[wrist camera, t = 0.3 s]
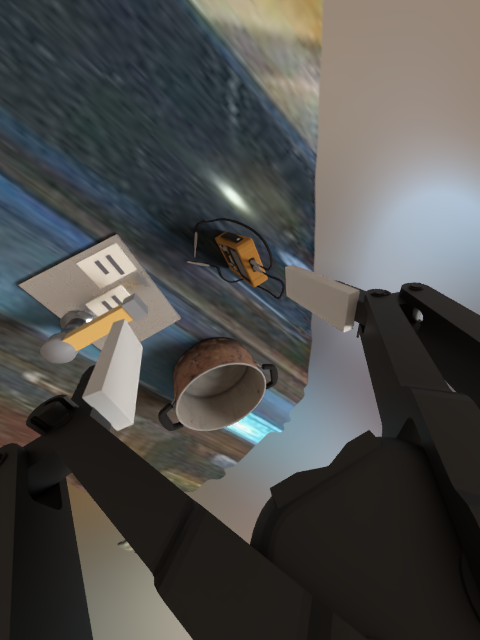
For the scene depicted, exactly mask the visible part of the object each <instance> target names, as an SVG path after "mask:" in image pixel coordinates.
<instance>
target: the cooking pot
mask: <svg viewBox="0 0 480 640" xmlns="http://www.w3.org/2000/svg"><path fill="white" fill-rule="evenodd" d="M259 367H262V369H263V370H265V369H270V375H271V381H270V382H269V383H267V384H266V380H265V376H264V375H263V373H262V371H261V370H260V368H259ZM277 380H278V373H277V369H276V367H275V365H273V364H263V365H262V366H260V365H258V364H257V362H255V361H254V359H253V357H252V356H251V354H250V353H249V351H248V350H247V348H246V347H245V346H244V345H243V344H242V343H240V342H238V341H236V340H233V339H230V338H214V339H208V340H205V341H203V342H200V343H198V344H196V345H194V346H193V347H191V348H190V349H189V350H187V351H186V352H185V353H184V354H183V355H182V356H181V357H180V359H179V360H178V362H177V363H176V366H175V368H174V372H173V385H174V400H173V402H172V403H168V404H167V405H166V406H165V407H164V408H163V409H162V410H161V411H160V412H159V414H158V417H159V421H160V423H161V424H162V425H163V427H164V428H166V429H167V430H169V431H173V430H176V429H179V428H182V427H183V425H184V426H186V427H187V428H190V429H193V430H198V431H210V430H217V429H221V428H224V427H227V426H230V425H232V424H234V423H236V422H238V421H239V420H241V419H243V418H244V417H245V416H247V415H248V414H249V413H250V412H251V411H253V410H254V409H255V407H256V406H257V405H258V404H259V402H260V401H261V399H262V398H263V395H264V393H265V389H269V388H271V387H272V386H274V385H275V384H276V383H277ZM174 403H175V407H176V415H177V418H178V420H179V421H180V422H178V423H175V424H173V423H172V422H171V420H170V419H169V417H168V416H167V414H166V413H167V412H168V411H169V410H170V409H172V408H173V406H172V405H173V404H174Z"/></svg>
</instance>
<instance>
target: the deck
mask: <svg viewBox="0 0 480 640" xmlns="http://www.w3.org/2000/svg"><path fill="white" fill-rule="evenodd" d="M115 243H116V244H117V245H118V246H119V247H120V249H121V250H122V251H123V253H124V254H125V255H126V256H127V258H128V259H129V260H130V262H131V263H132V264H133V265H134V267H135V268H136V269H137V270H135V271H133V272H131V273H130V274H128V275H126V276H124V277H122V278H120V279H118V280H117V281H115V282H113V283H111V284H109V285H107V286H105V287H104V288H102V289H100V288H99V287H98V286H97V285H96V284H95V282H94V281H93V280H92V279H91V278H90V277H89V276H88V275H87V274H86V273H85V272H84V271H83V270H82V269H81V268H80V267H79V266H78V265H77V264H76V263H78V262H80V261H82V260H84V259H86V258H88V257H90V256H92V255H94V254H95V253H97V252H99V251H101V250H103V249H105V248H107V247H109V246H111V245H113V244H115ZM119 285H121V286H122V287H123V288H124V289H125V290H126V291H127V292H128V293H129V295H132V294H134V293H136V294H137V295H138V296H139V297H140V299H141V300H142V301H143V302H144V303H145V304H146V306H147V307H148V315H147V316H145V317H144V318H142V319H140V320H138V321H135V320H132V321H130V322H128V324H129V326H130V328H131V329H132V331H133V332H134V334H135V336H136V337H137V339H138V340H139V342H141V341H143V340H145V339H146V338H148V337H150V336H152V335H153V334H155V333H157V332H158V331H160V330H162V329H164V328H165V327H167V326H169V325H171V324H172V323H174V322H176V321H178V320H179V319H181V317H180V315H179V314H178V313H177V311H176V310H175V309H174V307H173V306H172V305H171V303H170V302H169V301H168V299H167V298H166V297H165V296H164V294H163V293H162V292H161V290H160V289H159V288H158V286H157V285H156V284H155V282H154V281H153V280H152V278H151V277H150V276H149V274H148V273H147V272H146V270H145V269H144V268H143V266H142V265H141V264H140V263H139V261H138V260H137V259H136V257H135V256H134V255H133V253H132V252H131V251H130V249H129V248H128V247H127V245H126V244H125V243H124V241H123V240H122V239H121V237H120V236H119V235H118V234H116V235H114V236H112V237H110V238H108V239H106V240H105V241H103V242H101V243H99V244H97V245H95V246H93V247H91V248H89V249H87V250H85V251H83V252H81V253H79V254H77V255H75V256H74V257H72V258H70V259H68V260H66V261H64V262H62V263H60V264H58V265H56V266H54V267H52V268H50V269H48V270H46V271H44V272H43V273H41V274H39V275H37V276H35V277H33V278H31V279H29V280H27V281H25V282H23V283H21V284H19V286H20V287H21V288H23V289H24V290H25V291H26V292H28V293H29V294H30V295H31V296H33V297H34V298H35V299H36V300H38V301H39V302H40V303H42V304H43V305H44V306H45V307H47V308H48V309H49V310H50V311H52V312H53V313H54V314H55V315H57V316H58V317H59V318H61V320H60V325H61V328H62V329H63V330H62V331H61V332H60V333H69V332H71V331H73V330H75V329H77V328H78V327H80V326H82V325H84V324H86V323H87V322H89V321H91V320H93V319H95V318H97V317H98V316H97V315H96V314H95V313H93V312H92V311H91V310H90V309H89V308H88V307H87V306H86V305H85V304H86V303H88V302H90V301H91V300H93V299H95V298H97V297H99V296H101V295H103V294H104V293H106V292H108V291H110V290H112V289H114V288H115V287H117V286H119ZM107 337H108V334H107V335H105V336H103V337H101V338H100V339H98V340H96V341H94V342H93V343H92V344H94V345H95V346H96V347H97V348H99V349H100V350H101V351H102V349H103V346H104V344H105V341H106V339H107Z"/></svg>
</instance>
